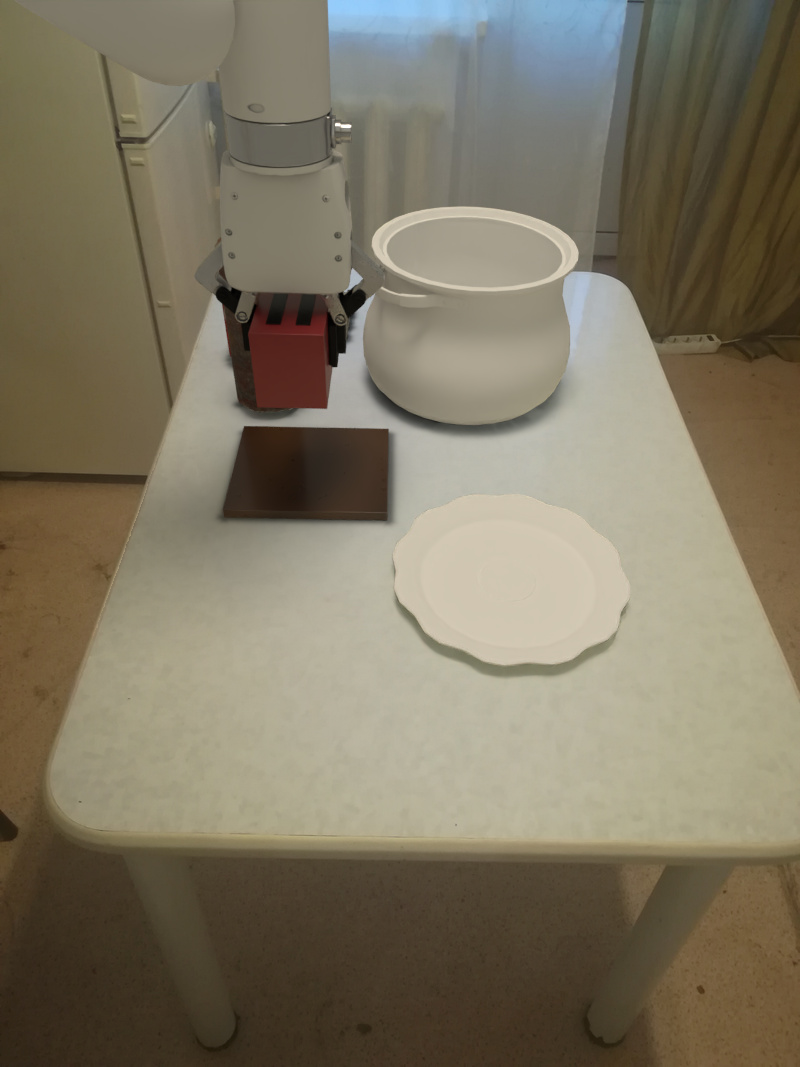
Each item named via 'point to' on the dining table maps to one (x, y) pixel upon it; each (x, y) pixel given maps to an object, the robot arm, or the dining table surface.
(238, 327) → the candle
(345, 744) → the dining table surface
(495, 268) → the pot
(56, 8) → the robot arm
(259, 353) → the toaster
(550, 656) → the plate
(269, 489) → the board
